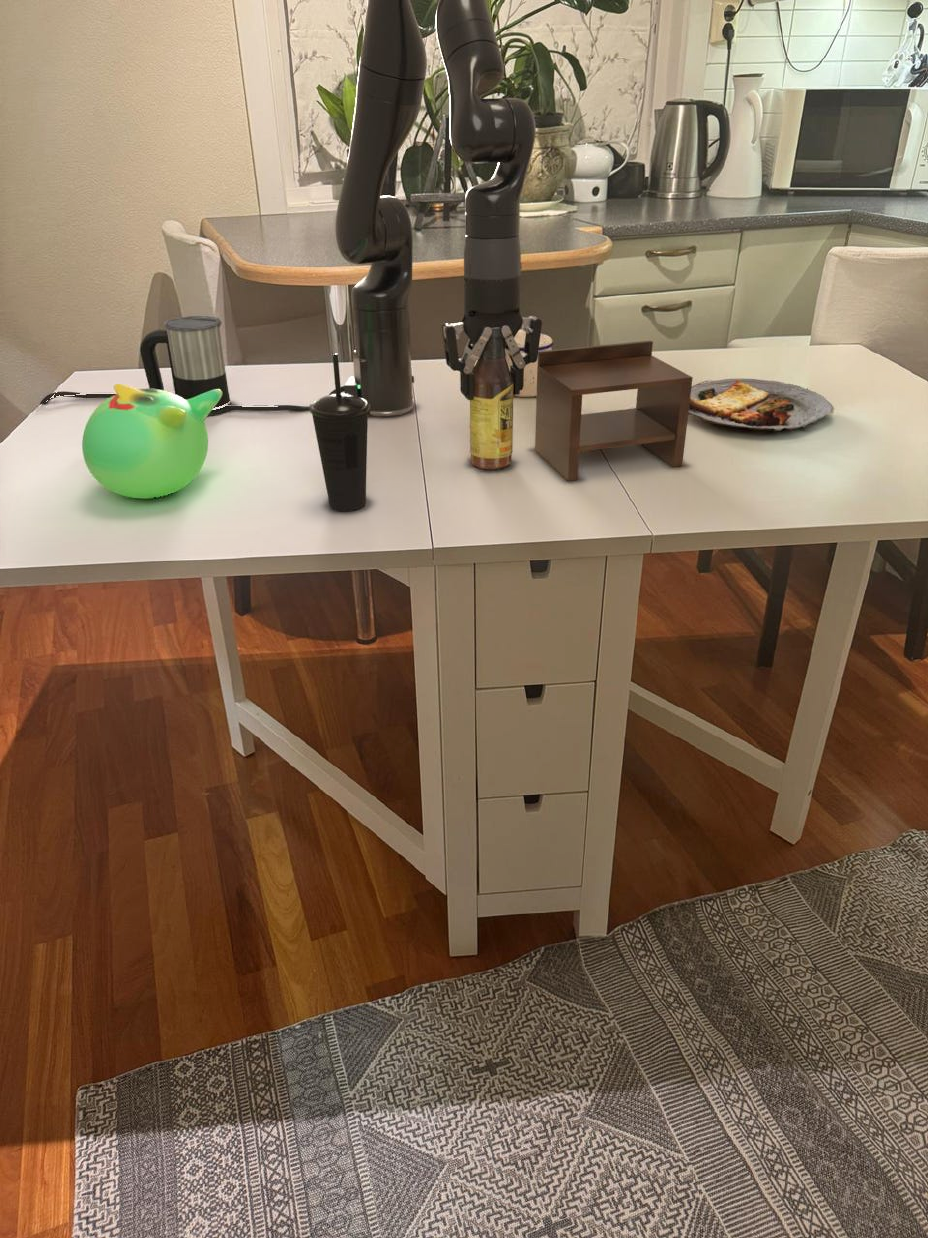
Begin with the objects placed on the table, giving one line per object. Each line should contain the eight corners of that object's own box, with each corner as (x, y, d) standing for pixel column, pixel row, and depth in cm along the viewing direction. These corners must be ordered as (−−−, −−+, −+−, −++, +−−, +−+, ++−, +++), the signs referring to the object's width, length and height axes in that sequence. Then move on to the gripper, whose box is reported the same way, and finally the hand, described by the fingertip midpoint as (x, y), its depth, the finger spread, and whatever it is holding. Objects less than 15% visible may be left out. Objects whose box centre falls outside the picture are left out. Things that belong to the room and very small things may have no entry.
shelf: (567, 481, 128) (573, 375, 120) (534, 450, 139) (537, 350, 131) (682, 465, 133) (694, 362, 125) (641, 436, 143) (650, 340, 136)
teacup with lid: (539, 380, 170) (541, 316, 164) (559, 394, 163) (562, 327, 157) (479, 387, 167) (478, 322, 161) (496, 402, 159) (496, 334, 153)
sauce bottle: (508, 472, 131) (510, 332, 121) (466, 470, 132) (464, 330, 122) (515, 456, 137) (517, 320, 126) (474, 454, 138) (473, 319, 128)
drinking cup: (385, 496, 124) (376, 348, 114) (362, 519, 118) (350, 364, 108) (334, 490, 126) (321, 344, 116) (309, 511, 120) (292, 359, 110)
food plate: (769, 450, 137) (773, 428, 136) (647, 414, 153) (649, 393, 151) (854, 414, 151) (858, 393, 150) (734, 384, 167) (737, 365, 165)
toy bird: (123, 466, 135) (102, 367, 127) (236, 466, 134) (221, 367, 127) (75, 517, 119) (47, 408, 112) (202, 517, 119) (183, 407, 111)
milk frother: (230, 398, 163) (218, 312, 155) (241, 425, 150) (227, 334, 143) (148, 407, 159) (131, 320, 152) (151, 436, 146) (132, 342, 139)
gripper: (533, 263, 125) (530, 383, 134) (432, 270, 122) (436, 393, 131) (553, 272, 119) (548, 398, 128) (448, 280, 116) (450, 409, 124)
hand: (491, 395), depth 129 cm, fingers closed on sauce bottle, 6 cm apart
